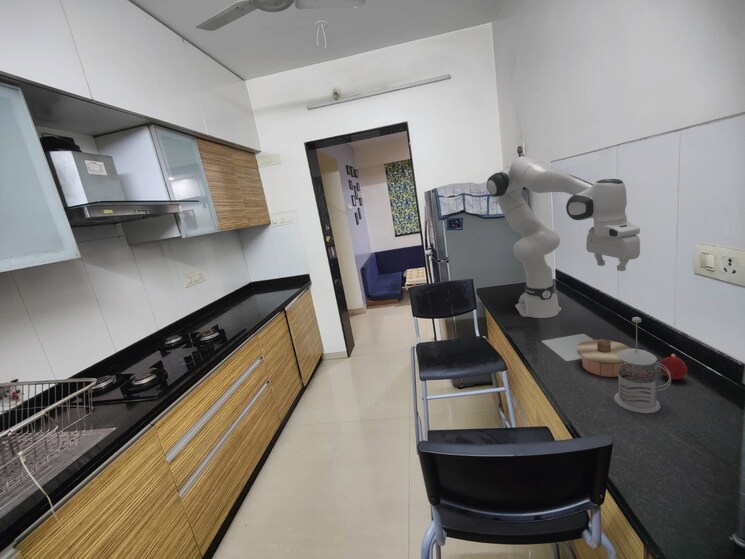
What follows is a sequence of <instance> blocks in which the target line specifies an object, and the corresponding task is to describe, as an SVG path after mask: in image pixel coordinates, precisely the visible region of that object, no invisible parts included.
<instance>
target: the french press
mask: <svg viewBox="0 0 745 559" xmlns="http://www.w3.org/2000/svg"><path fill="white" fill-rule="evenodd" d="M631 322H633V323H635V330H636V331H635V348H631V349H625V350H622V351H619V352H618V354H617V355H618V358H619V359H620V360H622V361H623V362H626V363H628V364H623V365H621V366H620V370H619V372H618V376H617V378H618V392H616V393H615V394H614V396H613V398H614V402H615V403H617V404H618V405H619V406H620V407H621V408H624V409H626V410H629V411H631V412H635V413H641V414H651V413H652V414H653V413H656V412H657V411H660V409H661V404H660V402H659V401H658V400H657V392H658V391H659V392H660V391H664V390H666V389H668V388H669V387H671V386H670V385H671V383H672V379H671V374H670V372H669V370H668V369H667V367H665V366H664V365H662V364H660V363H661V362H657V360H658V358H657V357H656V355H654V354H653V353H651V352H648V351H647V350H643V349H639V348H638V324H639V323H641V322H642V318H640V317H638V316H635V317H634V316H633V317H632V319H631ZM657 364H658V365H657ZM652 365H654V369H655V370H657V368H659V369H660V368H662V367H660V365H662V366H664V367H665V368H666V369H667V371H666V370H665V369H664V368H662V369H664V370H665V371H666V372H667V373H668V375H669V378H668V380H667V382H666V383H665V384H663V385H656V376H655V371H654V370H653V369H652V368H650V367H649V366H652ZM622 376H624V377H622ZM630 378H631V379H630ZM665 386H666V387H665ZM661 387H665V388H661ZM658 388H660V389H658Z"/></svg>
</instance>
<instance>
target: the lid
mask: <svg viewBox="0 0 745 559" xmlns="http://www.w3.org/2000/svg"><path fill="white" fill-rule="evenodd" d="M576 349H577V353H578V354H579V355H580V356H581V357H583V358H585V359H587V360H590V361H593V362H597V363H603V364H621V363H626V362H623V361H622V360H620V359H619V358H618V355H617V354H618V352H619V351H622V350H625V349H632V348H631V347H630V346H628V345H626V344H624V343H621V342H618V341H614V340H609V339H605V338H600V339H594V340H588V341H584V342H581V343H579V344H578V345H577V348H576Z"/></svg>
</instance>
